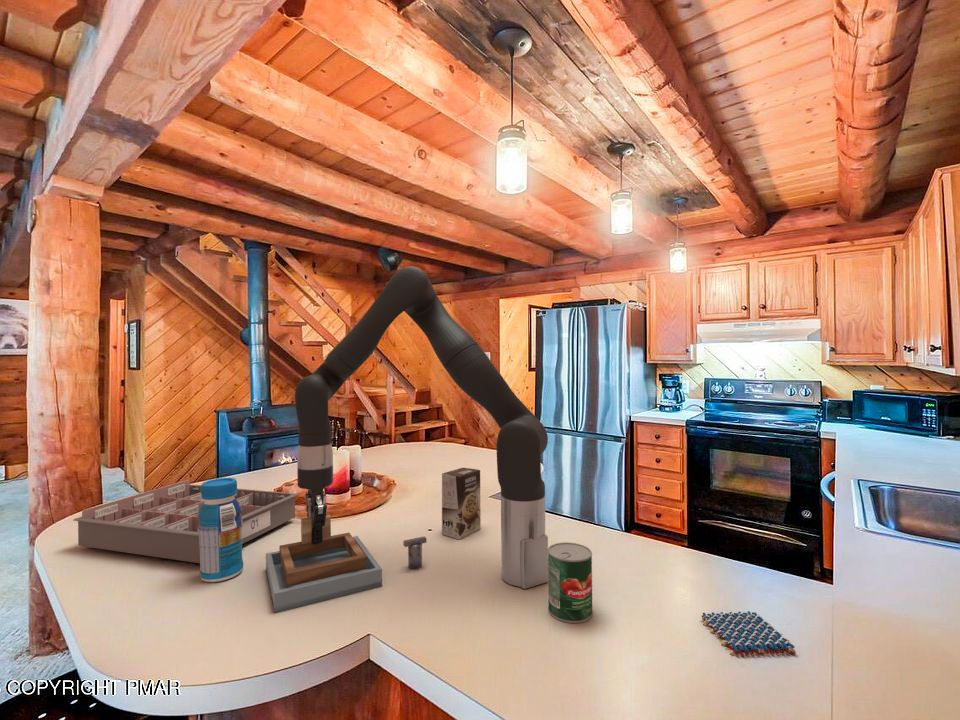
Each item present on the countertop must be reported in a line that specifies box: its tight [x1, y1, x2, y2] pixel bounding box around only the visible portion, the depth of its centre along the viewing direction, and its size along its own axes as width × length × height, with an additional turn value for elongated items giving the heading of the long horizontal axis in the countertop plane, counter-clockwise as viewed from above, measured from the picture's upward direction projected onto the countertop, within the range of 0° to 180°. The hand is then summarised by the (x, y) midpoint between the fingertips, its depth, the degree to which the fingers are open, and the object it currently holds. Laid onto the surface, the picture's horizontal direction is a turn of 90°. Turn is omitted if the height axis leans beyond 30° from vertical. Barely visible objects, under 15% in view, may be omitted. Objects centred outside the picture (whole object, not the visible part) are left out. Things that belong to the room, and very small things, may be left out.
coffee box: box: [441, 467, 482, 540], centre depth 123 cm, size 9×6×16 cm
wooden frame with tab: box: [279, 513, 366, 587], centre depth 98 cm, size 15×15×8 cm
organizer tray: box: [72, 479, 299, 564], centre depth 122 cm, size 32×40×10 cm
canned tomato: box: [547, 541, 594, 624], centre depth 84 cm, size 8×8×11 cm
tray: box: [265, 535, 383, 614], centre depth 98 cm, size 20×20×4 cm
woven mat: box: [699, 610, 797, 657], centre depth 76 cm, size 10×11×2 cm
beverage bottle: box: [198, 477, 244, 583], centre depth 99 cm, size 8×8×20 cm
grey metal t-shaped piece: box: [402, 536, 428, 570], centre depth 103 cm, size 3×5×6 cm, turn 119°
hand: (316, 541), depth 104 cm, fingers closed on wooden frame with tab
